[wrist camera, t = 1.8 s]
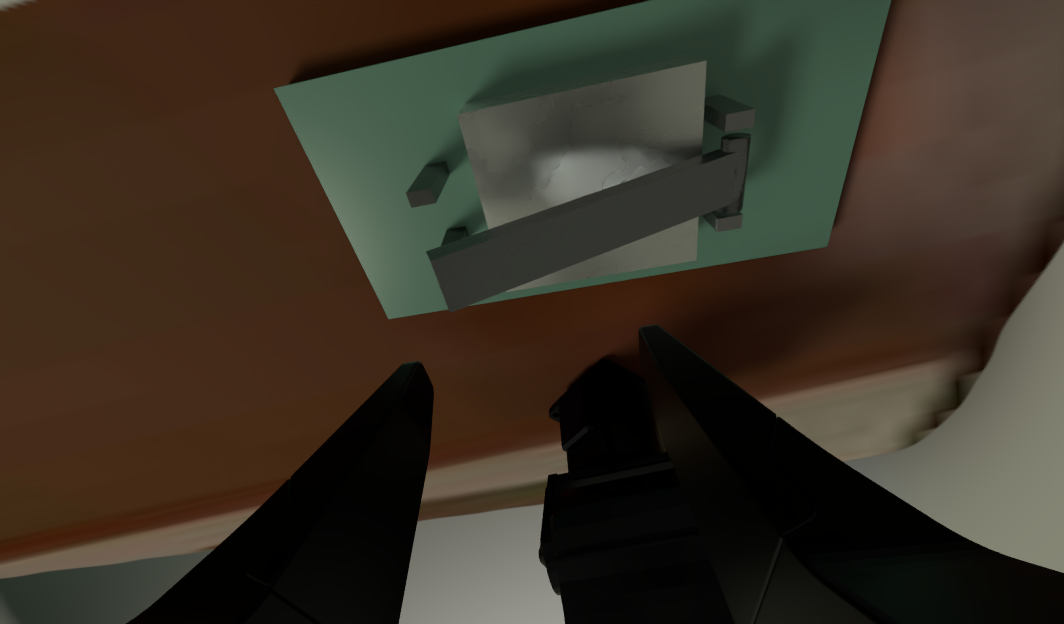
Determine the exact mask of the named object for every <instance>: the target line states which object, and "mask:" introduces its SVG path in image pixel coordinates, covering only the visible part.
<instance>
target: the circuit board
mask: <svg viewBox="0 0 1064 624" xmlns="http://www.w3.org/2000/svg"><path fill="white" fill-rule="evenodd" d="M890 3H891V0H647V1H643V2H639V3H634V4H630V5H626V6H621V7H617V8H613V9H609V10H604V11H600V12H596V13H592V14H587V15H583V16H579V17H574V18H570V19H566V20H562V21H557V22H553V23H549V24H545V25H540V26H536V27H532V28H527V29H523V30H519V31H515V32H510V33H506V34H502V35H498V36H493V37H489V38H485V39H480V40H476V41H472V42H468V43H463V44H459V45H455V46H451V47H446V48H442V49H438V50H433V51H429V52H425V53H421V54H416V55H412V56H408V57H404V58H399V59H395V60H391V61H386V62H382V63H378V64H374V65H369V66H365V67H361V68H357V69H352V70H348V71H344V72H340V73H335V74H331V75H327V76H322V77H318V78H314V79H310V80H305V81H301V82H297V83H293V84H288V85H285V86H281V87H278V88H274V90H275V92H276V94H277V96H278V98H279V100H280V102H281V104H282V106H283V108H284V110H285V112H286V114H287V116H288V118H289V120H290V122H291V124H292V126H293V128H294V130H295V132H296V134H297V136H298V138H299V140H300V142H301V144H302V146H303V148H304V150H305V152H306V154H307V156H308V158H309V160H310V162H311V164H312V166H313V168H314V170H315V172H316V174H317V176H318V178H319V180H320V182H321V184H322V186H323V188H324V190H325V192H326V194H327V196H328V198H329V200H330V202H331V204H332V206H333V208H334V210H335V212H336V214H337V216H338V218H339V220H340V222H341V224H342V226H343V228H344V230H345V232H346V234H347V236H348V238H349V240H350V242H351V244H352V246H353V248H354V250H355V252H356V254H357V256H358V258H359V260H360V262H361V264H362V266H363V268H364V270H365V272H366V274H367V276H368V278H369V280H370V282H371V284H372V286H373V288H374V290H375V292H376V294H377V296H378V298H379V300H380V302H381V304H382V306H383V308H384V310H385V312H386V315H387V317H388V319H392V318H398V317H405V316H411V315H417V314H423V313H429V312H435V311H441V310H447V309H448V307H447V305H446V302H445V300H444V297H443V295H442V292H441V289H440V287H439V284H438V282H437V279H436V276H435V274H434V271H433V269H432V266H431V263H430V261H429V258H428V256H427V253H426V251H428V250H431V249H434V248H437V247H440V246H441V243H442V241H443V238H444V235H445V233H446V230H447V229H453V228H458V227H463V226H466V227H467V231H468V234H469V236H471V235H474V234H477V233H480V232H483V231H486V230H488V226H487V222H486V218H485V215H484V211H483V207H482V204H481V200H480V197H479V193H478V189H477V186H476V182H475V178H474V175H473V171H472V167H471V164H470V160H469V156H468V153H467V149H466V146H465V142H464V138H463V135H462V131H461V127H460V124H459V120H458V116H457V114H458V112H459V111H460V110H461V108H462V107H463V105H464V104H465V103H469V102H473V101H478V100H482V99H487V98H491V97H496V96H501V95H505V94H510V93H514V92H519V91H523V90H528V89H533V88H537V87H542V86H546V85H551V84H556V83H560V82H565V81H569V80H574V79H578V78H583V77H588V76H592V75H597V74H601V73H606V72H610V71H615V70H620V69H624V68H629V67H633V66H638V65H643V64H647V63H652V62H656V61H661V60H665V59H670V58H675V57H679V56H684V55H686V56H690V57H694V58H698V59H702V60H706V61H707V62H706V82H705V98H707V97H711V96H716V95H723V96H725V97H728V98H730V99H733V100H735V101H738V102H740V103H743V104H745V105H748V106H750V107H753V108H755V109H756V110H755V118H754V127H750V128H745V129H740V130H734V131H729V132H723V131H722V130H720V129H718V128H717V127H715V126H713V125H711V124H710V123H708V122H706V121H705V120H704V121H703V140H702V155H703V154H706V153H709V152H712V151H715V150H718V149H720V147H721V137H723V136H724V135H727V134H732V133H748V134H751V142H750V151H749V159H748V168H747V176H746V185H745V194H744V202H743V209H742V210H741V211H740V212H741V213H742V214H743V219H742V228H739V229H734V230H728V231H722V232H716V231H715V230H714V229H713V228H712V226H711V225H710V224H709V223H708V222H707V221H706V220H705V218H704V217H703V216H699V218H698V238H697V257H696V261H690V262H684V263H678V264H672V265H666V266H660V267H654V268H648V269H642V270H636V271H630V272H624V273H618V274H612V275H606V276H600V277H594V278H588V279H582V280H576V281H570V282H564V283H558V284H552V285H546V286H540V287H534V288H528V289H522V290H516V291H510V292H506V291H505V292H503V293H500V294H497V295H495V296H492V297H490V298H487V299H484V300H482V301H479V302H477V303H474V304H471V305H477V304H483V303H489V302H495V301H501V300H507V299H513V298H520V297H526V296H532V295H538V294H544V293H550V292H556V291H562V290H568V289H574V288H580V287H586V286H592V285H598V284H604V283H610V282H616V281H622V280H628V279H634V278H641V277H647V276H653V275H659V274H665V273H671V272H677V271H683V270H689V269H695V268H701V267H707V266H713V265H719V264H725V263H731V262H737V261H743V260H749V259H755V258H762V257H768V256H774V255H780V254H786V253H792V252H798V251H804V250H810V249H816V248H822V247H827V246H828V242H829V238H830V234H831V231H832V227H833V223H834V219H835V215H836V211H837V207H838V204H839V200H840V196H841V192H842V188H843V184H844V180H845V177H846V173H847V169H848V165H849V161H850V157H851V153H852V150H853V146H854V142H855V138H856V134H857V130H858V126H859V123H860V119H861V115H862V111H863V107H864V103H865V100H866V96H867V92H868V88H869V84H870V80H871V76H872V73H873V69H874V65H875V61H876V57H877V53H878V49H879V46H880V42H881V38H882V34H883V30H884V26H885V22H886V19H887V15H888V11H889V7H890ZM444 161H446V162H447V166H448V169H449V172H450V175H449V178H448V180H447V182H446V184H445V186H444V188H443V190H442V192H441V194H440V196H439V198H438V200H437V202H436V203H435V204H429V205H424V206H419V207H414V208H411V206H410V203H409V200H408V198H407V195H406V192H407V191H408V189H409V188H410V186H411V185H412V183H413V182H414V181H415V179H416V178H417V176H418V175H419V173H420V172H421V170H422V169H423V167H424V166H425V165H429V164H434V163H439V162H444ZM471 305H469V306H471Z"/></svg>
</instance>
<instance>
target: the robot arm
mask: <svg viewBox="0 0 1064 624" xmlns="http://www.w3.org/2000/svg"><path fill="white" fill-rule="evenodd" d="M638 333H639V353H640V361H641V365H642V369H643V373H644V377H645V379H643V378H641V377H639V376H637V375H635V374H633V373H631V372H630V371H628V370H626V369H624V368H622V367H620V366H618V365H617V364H615V363H613V362H611V361H609V360H601V361H599V362H598V363H597V364H596V365H595V366H594V367H593V368H592V369H591V370H590V371H589V372H588V373H587V374H586V375H584V376H583V377H582V378H581V379H580V380H579V381H577V382H576V383H575V384H574V385H573V386H572V387H571V388H570V389H569V390H568V391H567V392H566V393H565V394H564V395H563V396H562V397H561V398H560V399H559V400H558V401H557V402H556V403H555V404H554V405H553V406H552V407H551V408H550V409H549V417H550V418H551V419H553V420H555V421H558V422H560V430H561V442H562V449H563V450H564V451H566V452H567V462H568V473H564V474H559V475H558V474H557V473H556V474H551V475H548V482H547V487H546V490H545V500H544V510H543V519H542V530H541V539H540V540H541V541H540V542H541V545H540V549H539V559H540V562H541V563H542V564H543V565H544V566H545V567H546V568H547V573H548V576H549V579H550V582H551V585H552V588H553V590H554V592H555V593H556V594H557V595H561V600H562V605H563V611H564V617H565V624H1064V573H1061V572H1058V571H1055V570H1052V569H1048V568H1045V567H1042V566H1038V565H1035V564H1031V563H1028V562H1025V561H1022V560H1018V559H1015V558H1012V557H1009V556H1006V555H1003V554H1000V553H998V552H996V551H993V550H991V549H988V548H986V547H983V546H981V545H979V544H977V543H975V542H973V541H971V540H969V539H967V538H965V537H963V536H961V535H959V534H957V533H955V532H953V531H952V530H950V529H948V528H947V527H945V526H943V525H942V524H940V523H938V522H937V521H935V520H933V519H932V518H930V517H929V516H927V515H926V514H924V513H922V512H921V511H919V510H918V509H916V508H915V507H913V506H911V505H910V504H908V503H906V502H905V501H903V500H902V499H900V498H898V497H897V496H895V495H894V494H892V493H891V492H889V491H888V490H886V489H884V488H883V487H881V486H880V485H878V484H876V483H875V482H873V481H872V480H870V479H869V478H867V477H865V476H864V475H862V474H861V473H859V472H858V471H856V470H854V469H852V468H851V467H850V466H848V465H847V464H845V463H844V462H842V461H841V460H839V459H838V458H836V457H835V456H833V455H832V454H830V453H829V452H827V451H826V450H824V449H823V448H821V447H820V446H818V445H817V444H816V443H814V442H813V441H811V440H810V439H809V438H807V437H806V436H805V435H803V434H802V433H800V432H799V431H798V430H796V429H795V428H794V427H792V426H791V425H790V424H788V423H787V422H786V421H784V420H783V419H782V418H780V417H776V414H775V413H774V412H772V411H771V410H770V409H768V408H767V407H766V406H764V405H763V404H762V403H760V402H759V401H758V400H756V399H755V398H754V397H752V396H751V395H750V394H748V393H747V392H746V391H745V390H743V389H742V388H741V387H739V386H738V385H737V384H735V383H734V382H733V381H731V380H730V379H729V378H727V377H726V376H725V375H723V374H722V373H721V372H719V371H718V370H717V369H716V368H714V367H713V366H712V365H710V364H709V363H708V362H706V361H705V360H704V359H702V358H701V357H700V356H698V355H697V354H696V353H694V352H693V351H692V350H690V349H689V348H688V347H687V346H685V345H684V344H683V343H681V342H680V341H679V340H677V339H676V338H675V337H673V336H672V335H671V334H669V333H668V332H667V331H665V330H664V329H663V328H661V327H660V326H659V325H648V326H642V327H640V328H639V331H638ZM603 367H606V368H603ZM433 399H434V390H433V385H432V383H431V381H430V379H429V377H428V374H427V372H426V370H425V368H424V366H423V365H422V363H421V362H419V361H416V362H409V363H404V364H402V365H401V366H400V367H399V368H398V369H397V370H396V371H395V372H394V373H393V374H392V375H391V376H390V377H389V378H388V379H387V380H386V381H385V382H384V383H383V384H382V385H381V386H380V387H379V388H378V389H377V390H376V391H375V392H374V393H373V394H372V395H371V396H370V397H369V398H368V399H367V400H366V401H365V402H364V403H363V404H362V405H361V406H360V407H359V408H358V409H357V410H356V411H355V412H354V413H353V414H352V415H351V416H350V417H349V418H348V419H347V420H346V421H345V422H344V423H343V424H342V425H341V426H340V427H339V428H338V429H337V430H336V431H335V432H334V434H333V435H332V436H331V437H330V438H329V439H328V440H327V441H326V442H325V443H324V444H323V445H322V446H321V447H320V448H319V449H318V450H317V451H316V452H315V453H314V454H313V455H312V456H311V457H310V458H309V459H308V460H307V461H306V462H305V463H304V464H303V465H302V466H301V467H300V468H299V469H298V470H297V471H296V472H295V473H294V474H293V475H292V476H291V480H290V479H288V480H287V481H286V482H285V483H284V484H283V485H282V486H281V487H280V488H279V489H278V490H277V491H276V492H275V493H274V494H273V495H272V496H271V497H270V498H269V499H268V500H267V501H266V502H265V503H264V504H263V505H262V506H261V507H260V508H259V509H257V510H256V511H255V512H254V513H253V514H252V515H251V516H250V517H249V518H248V519H247V520H246V521H245V522H244V523H243V524H242V525H240V526H239V527H238V528H237V529H236V530H235V531H234V532H233V533H232V534H231V535H230V536H229V537H227V538H226V539H225V540H224V541H223V542H222V543H221V544H220V545H219V546H217V547H216V548H215V549H214V550H213V551H212V552H211V553H210V554H209V555H207V556H206V557H205V558H204V559H203V560H202V561H201V562H200V563H198V564H197V565H196V566H195V567H194V568H193V569H192V570H191V571H189V573H187V574H186V575H185V576H184V577H183V578H182V579H181V580H179V581H178V582H177V583H176V584H175V585H174V586H173V587H172V588H171V589H169V590H168V591H167V592H166V593H165V594H164V595H163V596H162V597H161V598H159V599H158V600H157V601H156V602H155V603H153V604H152V605H151V606H150V607H149V608H148V609H146V610H145V611H143V612H142V613H141V614H139V615H138V616H137V617H135V618H134V619H132V620H131V621H129V622H128V623H126V624H399V619H400V612H401V607H402V602H403V597H404V591H405V585H406V580H407V575H408V569H409V563H410V558H411V553H412V547H413V542H414V537H415V531H416V526H417V520H418V515H419V509H420V504H421V498H422V493H423V487H424V482H425V476H426V471H427V466H428V460H429V453H430V444H431V429H432V414H433Z"/></svg>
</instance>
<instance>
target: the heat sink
mask: <svg viewBox="0 0 1064 624" xmlns="http://www.w3.org/2000/svg"><path fill="white" fill-rule="evenodd" d="M706 62H707V61H706V60H702V59H698V58H694V57H690V56H686V55H684V56H679V57H675V58H670V59H665V60H661V61H656V62H652V63H647V64H643V65H638V66H633V67H629V68H624V69H620V70H615V71H610V72H606V73H601V74H597V75H592V76H588V77H583V78H578V79H574V80H569V81H565V82H560V83H556V84H551V85H546V86H542V87H537V88H533V89H528V90H523V91H519V92H514V93H510V94H505V95H501V96H496V97H491V98H487V99H482V100H478V101H473V102H469V103H465V104H464V105H463V107H462V108H461V110H460V111H459V112H458V114H457V116H458V120H459V124H460V127H461V131H462V135H463V138H464V142H465V146H466V149H467V153H468V156H469V160H470V164H471V167H472V171H473V175H474V178H475V182H476V186H477V189H478V193H479V197H480V200H481V204H482V207H483V211H484V215H485V218H486V222H487V226H488V229H491V228H494V227H497V226H500V225H503V224H506V223H509V222H511V221H514V220H517V219H520V218H523V217H526V216H529V215H531V214H534V213H537V212H540V211H543V210H546V209H549V208H552V207H554V206H557V205H560V204H563V203H566V202H569V201H572V200H574V199H577V198H580V197H583V196H586V195H589V194H592V193H594V192H597V191H600V190H603V189H606V188H609V187H612V186H615V185H617V184H620V183H623V182H626V181H629V180H632V179H635V178H637V177H640V176H643V175H646V174H649V173H652V172H655V171H657V170H660V169H663V168H666V167H669V166H672V165H675V164H678V163H680V162H683V161H686V160H689V159H692V158H695V157H698V156H700V155H702V140H703V121H704V120H705V121H706V122H708V123H710V124H711V125H713V126H715V127H717V128H718V129H720V130H722V131H723V132H729V131H734V130H740V129H745V128H750V127H754V118H755V110H756V109H755V108H753V107H750V106H748V105H745V104H743V103H740V102H738V101H735V100H733V99H730V98H728V97H725V96H723V95H716V96H711V97H707V98H705V82H706ZM449 175H450V172H449V169H448V166H447V162H446V161H444V162H439V163H434V164H429V165H425V166H424V167H423V169H422V170H421V172H420V173H419V175H418V176H417V178H416V179H415V181H414V182H413V183H412V185H411V186H410V188H409V189H408V191H407V192H406V195H407V198H408V200H409V203H410V206H411V208H414V207H419V206H424V205H429V204H435V203H436V202H437V200H438V198H439V196H440V194H441V192H442V190H443V188H444V186H445V184H446V182H447V180H448V178H449ZM702 216H703V217H704V218H705V220H706V221H707V222H708V223H709V224H710V225H711V226H712V228H713V229H714V230H715V231H716V232H722V231H728V230H734V229H739V228H742V219H743V214H742V213H741V212H740V211H739V212H736V213H721V212H718V211H717V210H715V211H712V212H709V213H707V214H704V215H702ZM698 218H699V217H696V218H694V219H691V220H689V221H686V222H684V223H681V224H678V225H676V226H673V227H671V228H668V229H665V230H663V231H660V232H658V233H655V234H653V235H650V236H647V237H645V238H642V239H640V240H637V241H634V242H632V243H629V244H627V245H624V246H621V247H619V248H616V249H614V250H611V251H609V252H606V253H603V254H601V255H598V256H596V257H593V258H590V259H588V260H585V261H583V262H580V263H578V264H575V265H572V266H570V267H567V268H565V269H562V270H559V271H557V272H554V273H552V274H549V275H546V276H544V277H541V278H539V279H536V280H534V281H531V282H528V283H526V284H523V285H521V286H518V287H515V288H513V289H510V290H508V291H506V292H510V291H516V290H522V289H528V288H534V287H540V286H546V285H552V284H558V283H564V282H570V281H576V280H582V279H588V278H594V277H600V276H606V275H612V274H618V273H624V272H630V271H636V270H642V269H648V268H654V267H660V266H666V265H672V264H678V263H684V262H690V261H696V257H697V238H698ZM468 236H469V234H468V231H467V227H466V226H463V227H458V228H453V229H447V230H446V233H445V235H444V238H443V241H442V243H441V246H443V245H446V244H448V243H451V242H454V241H457V240H460V239H463V238H466V237H468Z"/></svg>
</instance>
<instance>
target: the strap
mask: <svg viewBox="0 0 1064 624" xmlns="http://www.w3.org/2000/svg"><path fill="white" fill-rule="evenodd" d="M750 142H751V134H748V133H732V134H727V135H724V136H723V137H721V147H720V149H718V150H715V151H712V152H709V153H706V154H703V155H700V156H698V157H695V158H692V159H689V160H686V161H683V162H680V163H678V164H675V165H672V166H669V167H666V168H663V169H660V170H657V171H655V172H652V173H649V174H646V175H643V176H640V177H637V178H635V179H632V180H629V181H626V182H623V183H620V184H617V185H615V186H612V187H609V188H606V189H603V190H600V191H597V192H594V193H592V194H589V195H586V196H583V197H580V198H577V199H574V200H572V201H569V202H566V203H563V204H560V205H557V206H554V207H552V208H549V209H546V210H543V211H540V212H537V213H534V214H531V215H529V216H526V217H523V218H520V219H517V220H514V221H511V222H509V223H506V224H503V225H500V226H497V227H494V228H491V229H488V230H486V231H483V232H480V233H477V234H474V235H471V236H468V237H466V238H463V239H460V240H457V241H454V242H451V243H448V244H446V245H443V246H440V247H437V248H434V249H431V250H428V251H426V253H427V256H428V258H429V261H430V263H431V266H432V269H433V271H434V274H435V276H436V279H437V282H438V284H439V287H440V289H441V292H442V295H443V297H444V300H445V302H446V305H447V307H448V309H449V311H450V313H451V312H453V311H456V310H459V309H461V308H464V307H466V306H469V305H471V304H474V303H477V302H479V301H482V300H484V299H487V298H490V297H492V296H495V295H497V294H500V293H503V292H505V291H508V290H510V289H513V288H515V287H518V286H521V285H523V284H526V283H528V282H531V281H534V280H536V279H539V278H541V277H544V276H546V275H549V274H552V273H554V272H557V271H559V270H562V269H565V268H567V267H570V266H572V265H575V264H578V263H580V262H583V261H585V260H588V259H590V258H593V257H596V256H598V255H601V254H603V253H606V252H609V251H611V250H614V249H616V248H619V247H621V246H624V245H627V244H629V243H632V242H634V241H637V240H640V239H642V238H645V237H647V236H650V235H653V234H655V233H658V232H660V231H663V230H665V229H668V228H671V227H673V226H676V225H678V224H681V223H684V222H686V221H689V220H691V219H694V218H696V217H699V216H702V215H704V214H707V213H709V212H712V211H715V210H717V211H718V212H721V213H736V212H739V211H741V210H742V209H743V202H744V194H745V185H746V176H747V168H748V159H749V151H750Z"/></svg>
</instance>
